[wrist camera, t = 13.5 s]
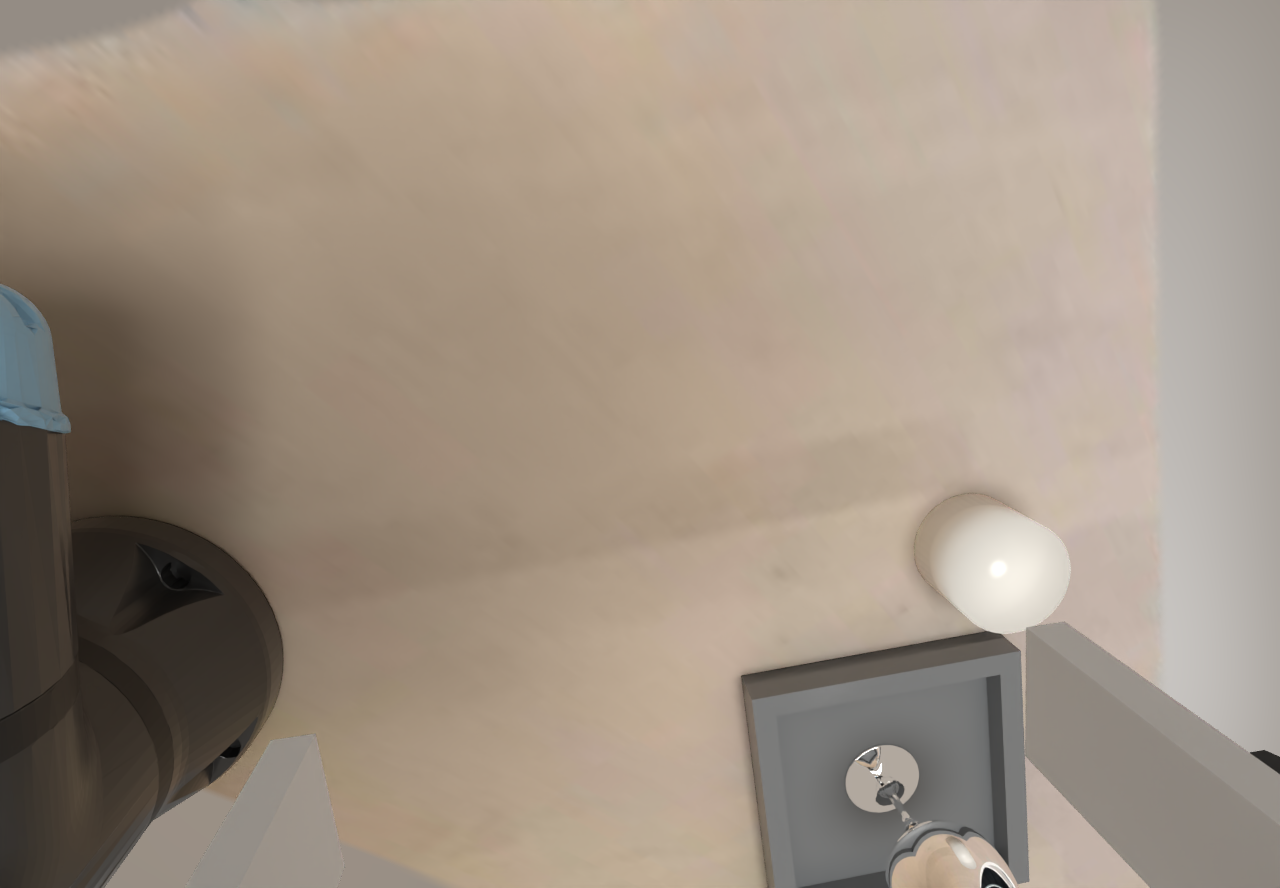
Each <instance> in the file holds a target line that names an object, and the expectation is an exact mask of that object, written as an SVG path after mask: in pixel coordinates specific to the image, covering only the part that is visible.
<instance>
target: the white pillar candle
mask: <svg viewBox="0 0 1280 888" xmlns="http://www.w3.org/2000/svg"><path fill="white" fill-rule="evenodd" d="M914 557H915V562H916V566H917V568H918V570H919V573H920V574H921V576H922V577H923V578H924V580H925V581H926V582H927V583H928V584H929V585H931V586H932V587H933V588H934V589H935V590H936V591H937V592H938V593H940V594H941V595H942V596H943V597H944V598H945V599H946V600H948V601H949V602H950V603H951V604H952V605H953V606H954V607H956V608H957V609H958V610H959V611H960V612H961V613H962V614H964V615H965V616H966V617H967V618H968V619H969V620H970V621H972V622H973V623H974V624H975V625H977V626H978V627H980V628H982V629H984V630H987V631H990V632H993V633H1000V634H1010V633H1017V632H1021V631H1025V630H1026V627H1032V626H1036V625H1038V624H1039V623H1041V622H1042V621H1044V620H1045V619H1046V618H1047V617H1048V616H1050V615H1051V614H1052V613H1053V611H1054V610H1055V609H1056V608H1057V607H1058V605H1059V604H1060V602H1061V601H1062V599H1063V597H1064V595H1065V593H1066V591H1067V588H1068V585H1069V580H1070V572H1071V566H1070V559H1069V555H1068V552H1067V549H1066V547H1065V545H1064V544H1063V542H1062V541H1061V539H1060V538H1059V537H1058V536H1057V535H1056V534H1055V533H1054V532H1053V531H1051V530H1050V529H1048V528H1047V527H1045V526H1043V525H1041V524H1039V523H1038V522H1036V521H1034V520H1032V519H1030V518H1029V517H1027V516H1025V515H1023V514H1021V513H1019V512H1018V511H1016V510H1014V509H1012V508H1010V507H1008V506H1007V505H1005V504H1003V503H1001V502H999V501H998V500H996V499H994V498H992V497H989V496H986V495H983V494H976V493H968V494H961V495H957V496H954V497H951V498H949V499H947V500H945V501H943V502H942V503H940V504H939V505H937V506H936V507H935V508H934V509H933V510H931V512H930V513H929V514H928V515H927V516H926V517H925V519H924V520H923V522H922V523H921V525H920V527H919V529H918V532H917V535H916V538H915V544H914Z"/></svg>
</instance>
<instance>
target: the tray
mask: <svg viewBox="0 0 1280 888" xmlns="http://www.w3.org/2000/svg"><path fill="white" fill-rule="evenodd" d="M741 677H742V685H743V693H744V701H745V709H746V717H747V725H748V733H749V741H750V749H751V757H752V765H753V773H754V781H755V788H756V796H757V804H758V812H759V820H760V828H761V836H762V844H763V852H764V860H765V868H766V876H767V884H768V888H887V887H886V878H885V873H886V864H887V860H888V856H889V854H890V852H891V849H892V847H893V846H894V844H895V842H896V841H897V840H898V839H899V837H900V836H901V835H902V834H903V833H905V832H904V829H903V823H902V820H901V817H900V815H899V813H898V811H897V810H896V809H894V810H892V811H889V812H884V813H871V812H867V811H864V810H862V809H860V808H858V807H857V806H855V805H854V804H853V803H852V802H851V800H850V799H849V797H848V795H847V793H846V790H845V775H846V772H847V769H848V767H849V765H850V764H851V762H852V761H853V760H854V758H855V757H856V756H858V755H859V754H860V753H861V752H863V751H864V750H866V749H868V748H870V747H873V746H876V745H881V744H892V745H897V746H900V747H903V748H904V749H906V750H907V751H909V752H910V753H911V754H912V755H913V756H914V758H915V759H916V761H917V764H918V767H919V774H920V775H919V783H918V786H917V788H916V790H915V792H914V794H913V795H912V797H911V798H910V799H909V800H908V801H907V802H906V803H905V804H903V806H904V807H905V809H906V810H907V811H908V813H909V814H910V815H911V816H912V817H913V818H914V819H916V820H917V821H918V822H919V823H922V822H926V821H930V820H951V821H954V822H958V823H961V824H964V825H967V826H968V827H970V828H972V829H973V830H975V831H976V832H978V833H979V834H981V835H982V836H983V837H984V838H985V839H986V840H987V841H988V842H989V843H990V844H991V845H992V846H993V847H994V848H995V849H996V850H997V851H998V853H999V854H1000V855H1001V857H1002V858H1003V859H1004V861H1005V862H1006V864H1007V865H1008V867H1009V869H1010V871H1011V872H1012V874H1013V876H1014V878H1015V880H1016V882H1017V883H1018V884H1020V883H1025V882H1029V861H1028V834H1027V807H1026V781H1025V754H1024V727H1023V700H1022V674H1021V651H1020V650H1019V649H1018V648H1017V647H1015V646H1014V645H1013V644H1012V643H1011V642H1010V641H1008V640H1007V639H1006V638H1005V637H1004V636H1002V635H1001V634H1000V633H993V632H990V631H987V632H982V633H976V634H971V635H965V636H960V637H954V638H949V639H943V640H938V641H932V642H926V643H921V644H915V645H910V646H904V647H899V648H893V649H888V650H882V651H877V652H871V653H866V654H860V655H854V656H849V657H843V658H838V659H832V660H827V661H821V662H816V663H810V664H805V665H799V666H794V667H788V668H783V669H777V670H771V671H766V672H760V673H755V674H749V675H744V676H741Z"/></svg>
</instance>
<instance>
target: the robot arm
mask: <svg viewBox="0 0 1280 888" xmlns="http://www.w3.org/2000/svg"><path fill="white" fill-rule="evenodd" d="M70 432H71V424H70V421H69V419H68V417H67V416H66V415H64V414H63V413H62V410H61V404H60V396H59V388H58V381H57V373H56V365H55V357H54V350H53V342H52V336H51V332H50V328H49V326H48V324H47V321H46V320H45V318H44V317H43V315H42V313H41V312H40V311H39V310H38V309H37V307H36V306H35V305H34V304H33V303H32V302H31V301H30V300H28V299H27V298H26V297H24V296H23V295H22V294H20V293H19V292H17V291H16V290H14V289H12V288H10V287H8V286H5V285H3V284H0V888H104V887H105V886H106V885H107V883H108V882H109V881H110V879H111V878H112V876H113V875H114V874H115V872H116V871H117V869H118V868H119V867H120V865H121V864H122V862H123V861H124V860H125V858H126V857H127V856H128V854H129V853H130V851H131V850H132V849H133V847H134V846H135V844H136V843H137V842H138V840H139V839H140V837H141V835H142V834H143V833H144V831H145V830H146V829H147V827H148V826H149V824H150V823H151V822H152V821H153V820H154V819H156V818H158V817H159V816H161V815H162V814H164V813H165V812H167V811H169V810H170V809H172V808H173V807H175V806H176V805H178V804H180V803H181V802H183V801H184V800H186V799H188V798H189V797H191V796H192V795H194V794H195V793H197V792H198V791H200V790H202V789H203V788H205V787H206V786H208V785H210V784H211V783H212V782H214V781H215V780H216V779H218V778H219V777H221V776H222V775H223V774H224V773H225V772H226V771H228V770H229V769H230V768H231V767H232V766H233V765H234V764H235V763H236V762H237V761H238V760H239V759H240V758H241V756H242V755H243V754H244V753H245V752H246V750H247V749H248V748H249V746H250V745H251V743H252V742H253V740H254V739H255V737H256V736H257V734H258V733H259V731H260V730H261V728H262V726H263V725H264V723H265V722H266V720H267V718H268V717H269V715H270V713H271V711H272V709H273V707H274V704H275V702H276V699H277V696H278V693H279V689H280V685H281V680H282V671H283V651H282V643H281V638H280V633H279V629H278V626H277V623H276V620H275V617H274V615H273V612H272V610H271V608H270V606H269V604H268V602H267V600H266V598H265V597H264V595H263V593H262V592H261V590H260V589H259V588H258V586H257V585H256V583H255V582H254V581H253V580H252V578H251V577H250V576H249V575H248V574H247V573H246V572H245V570H244V569H243V568H242V567H241V566H240V565H239V564H237V563H236V562H235V561H234V560H233V559H232V558H231V557H229V556H228V555H227V554H226V553H224V552H223V551H222V550H220V549H219V548H217V547H216V546H215V545H213V544H211V543H210V542H208V541H206V540H205V539H203V538H201V537H199V536H197V535H195V534H193V533H191V532H188V531H186V530H184V529H181V528H178V527H175V526H173V525H170V524H166V523H163V522H159V521H154V520H150V519H144V518H137V517H125V516H107V517H95V518H87V519H82V520H77V521H73V522H71V518H70V501H69V485H68V468H67V452H66V435H65V433H70ZM1025 756H1026V757H1027V758H1028V759H1029V760H1030V761H1031V763H1032V764H1033V765H1034V766H1035V767H1036V768H1037V769H1038V770H1039V771H1040V772H1041V773H1042V774H1043V775H1044V776H1045V777H1046V778H1047V779H1048V780H1049V781H1050V783H1051V784H1052V785H1053V786H1054V787H1055V788H1056V789H1057V790H1058V791H1059V792H1060V793H1061V794H1062V795H1063V796H1064V797H1065V798H1066V799H1067V800H1068V801H1069V803H1070V804H1071V805H1072V806H1073V807H1074V808H1075V809H1076V810H1077V811H1078V812H1079V813H1080V814H1081V815H1082V816H1083V817H1084V818H1085V819H1086V820H1087V822H1088V823H1089V824H1090V825H1091V826H1092V827H1093V828H1094V829H1095V830H1096V831H1097V832H1098V833H1099V834H1100V835H1101V836H1102V837H1103V838H1104V839H1105V840H1106V842H1107V843H1108V844H1109V845H1110V846H1111V847H1112V848H1113V849H1114V850H1115V851H1116V852H1117V853H1118V854H1119V855H1120V856H1121V857H1122V858H1123V859H1124V860H1125V862H1126V863H1127V864H1128V865H1129V866H1130V867H1131V868H1132V869H1133V870H1134V871H1135V872H1136V873H1137V874H1138V875H1139V876H1140V877H1141V878H1142V879H1143V880H1144V882H1145V883H1146V884H1147V885H1148V886H1149V887H1150V888H1280V757H1279V756H1277V755H1274V754H1272V753H1270V752H1268V751H1265V750H1262V751H1257V752H1250V753H1249V752H1248V751H1246V750H1245V749H1243V748H1242V747H1240V746H1239V745H1238V744H1236V743H1235V742H1234V741H1232V740H1231V739H1229V738H1228V737H1227V736H1225V735H1224V734H1222V733H1221V732H1219V731H1218V730H1217V729H1215V728H1214V727H1212V726H1211V725H1210V724H1208V723H1207V722H1205V721H1204V720H1202V719H1201V718H1200V717H1198V716H1197V715H1195V714H1194V713H1193V712H1191V711H1190V710H1188V709H1187V708H1186V707H1184V706H1183V705H1181V704H1180V703H1179V702H1177V701H1175V700H1174V699H1173V698H1172V697H1170V696H1169V695H1167V694H1166V693H1165V692H1163V691H1162V690H1160V689H1159V688H1157V687H1156V686H1155V685H1153V684H1152V683H1150V682H1149V681H1148V680H1146V679H1145V678H1143V677H1142V676H1141V675H1139V674H1138V673H1136V672H1135V671H1134V670H1132V669H1131V668H1129V667H1128V666H1126V665H1125V664H1124V663H1122V662H1121V661H1119V660H1118V659H1117V658H1115V657H1114V656H1112V655H1111V654H1110V653H1108V652H1107V651H1105V650H1104V649H1102V648H1101V647H1100V646H1098V645H1097V644H1095V643H1094V642H1093V641H1091V640H1090V639H1088V638H1087V637H1086V636H1084V635H1083V634H1081V633H1080V632H1079V631H1077V630H1076V629H1074V628H1073V627H1071V626H1070V625H1069V624H1067V623H1066V622H1059V623H1052V624H1046V625H1039V626H1032V627H1026V740H1025ZM344 868H345V864H344V860H343V856H342V851H341V847H340V842H339V837H338V833H337V828H336V824H335V819H334V815H333V810H332V806H331V801H330V797H329V792H328V787H327V783H326V778H325V774H324V769H323V765H322V760H321V756H320V751H319V747H318V742H317V738H316V734H309V735H303V736H296V737H289V738H283V739H276V740H271V741H270V743H269V744H268V746H267V748H266V750H265V751H264V753H263V755H262V756H261V758H260V760H259V762H258V763H257V765H256V767H255V768H254V770H253V772H252V773H251V775H250V777H249V779H248V780H247V782H246V784H245V785H244V787H243V789H242V791H241V792H240V794H239V796H238V797H237V799H236V801H235V802H234V804H233V806H232V808H231V809H230V811H229V813H228V814H227V816H226V818H225V820H224V821H223V823H222V825H221V827H220V828H219V830H218V831H217V833H216V835H215V837H214V838H213V840H212V842H211V844H210V845H209V847H208V849H207V850H206V852H205V854H204V855H203V857H202V859H201V861H200V862H199V864H198V866H197V867H196V869H195V871H194V872H193V874H192V876H191V878H190V879H189V881H188V883H187V884H186V886H185V888H338V885H339V882H340V879H341V877H342V873H343V871H344Z"/></svg>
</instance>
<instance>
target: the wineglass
mask: <svg viewBox="0 0 1280 888" xmlns="http://www.w3.org/2000/svg"><path fill="white" fill-rule="evenodd" d="M919 775H920V774H919V767H918V764H917V761H916V759H915V758H914V756H913V755H912V754H911V753H910V752H909V751H907V750H906V749H904V748H903V747H900V746H897V745H892V744H881V745H876V746H873V747H870V748H868V749H866V750H864V751H863V752H861V753H860V754H859V755H858V756H856V757H855V758H854V760H853V761H852V762H851V764H850V765H849V767H848V769H847V772H846V775H845V790H846V793H847V795H848V797H849V799H850V800H851V802H852V803H853V804H854V805H855V806H857V807H858V808H860V809H862V810H864V811H867V812H871V813H884V812H889V811H892V810H894V809H896V810H897V811H898V813H899V815H900V817H901V820H902V823H903V829H904V832H905V833H903V834H902V835H901V836H900V837H899V839H898V840H897V841H896V842H895V844H894V846H893V847H892V849H891V852H890V854H889V856H888V860H887V864H886V873H885V878H886V887H887V888H1019V886H1018V883H1017V882H1016V880H1015V878H1014V876H1013V874H1012V872H1011V871H1010V869H1009V867H1008V865H1007V864H1006V862H1005V861H1004V859H1003V858H1002V857H1001V855H1000V854H999V853H998V851H997V850H996V849H995V848H994V847H993V846H992V845H991V844H990V843H989V842H988V841H987V840H986V839H985V838H984V837H983V836H982V835H981V834H979V833H978V832H976V831H975V830H973V829H972V828H970V827H968V826H967V825H964V824H961V823H958V822H954V821H951V820H930V821H926V822H922V823H919V822H918V821H917V820H916V819H914V818H913V817H912V816H911V815H910V814H909V813H908V811H907V810H906V809H905V807H904V806H903V804H905V803H906V802H907V801H908V800H909V799H910V798H911V797H912V795H913V794H914V792H915V790H916V788H917V786H918V783H919Z"/></svg>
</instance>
